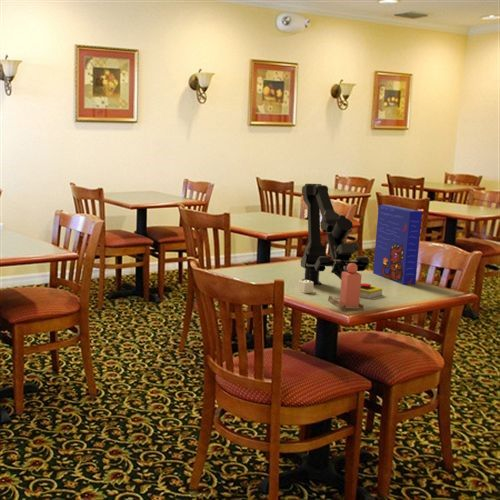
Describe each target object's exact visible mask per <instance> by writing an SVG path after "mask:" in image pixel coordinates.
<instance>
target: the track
mask: <svg viewBox="0 0 500 500" xmlns="http://www.w3.org/2000/svg"><path fill="white" fill-rule="evenodd" d="M327 302H329V303H331V304H332V305H333V306H335V307H336V308H337V309H339V310H341V312H358V311H359V312H360V311H364V310H365V309H364V305H363V304H362V303H360V302H359V306H349V307H346V306H345V305H344V304H342V303H341V302H340V297H333V296H331V295H328V297H327Z"/></svg>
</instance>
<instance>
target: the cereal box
mask: <svg viewBox="0 0 500 500" xmlns="http://www.w3.org/2000/svg"><path fill="white" fill-rule="evenodd" d="M422 217H423V211H420V210H417V209H416V210H415V209H411V208H407V207H401V206H396V205H391V204H379V205H378V210H377V219H376V220H377V221H376V222H377V223H376V231H375V233H376V234H375V247H374V256H373V268H372V269H373V270H372V274H373V275H377V276H379V277H381V278H384V279H387V280H389V281H392V282H395V283H398V284H401V285H403V286H406V285H416V281H417V271H418V260H419V249H420V241H421V240H420V238H421V230H422V219H423V218H422Z"/></svg>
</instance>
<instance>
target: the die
mask: <svg viewBox="0 0 500 500" xmlns="http://www.w3.org/2000/svg"><path fill="white" fill-rule="evenodd" d="M314 285H315V284H314V282H312V281H309V280H302V279H301V280H300V279H299V280H298V287H297V289H298V290H299V292H300V291H301V292H300V293H302V292H303V293H302V294H308V293H309V294H310V293H311V292H312V293H314ZM298 290H297V291H298ZM312 293H311V294H312Z"/></svg>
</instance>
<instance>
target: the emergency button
mask: <svg viewBox="0 0 500 500" xmlns="http://www.w3.org/2000/svg"><path fill="white" fill-rule="evenodd" d="M340 292H341V290H340V291H339V293H340ZM385 297H386V295H384V294H383V288H382V287H379V286H373V285H372V284H370V283H365V282H364V283H362V282H361V288H360V298H364V299H368V300H377V299H381V298H385Z"/></svg>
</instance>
